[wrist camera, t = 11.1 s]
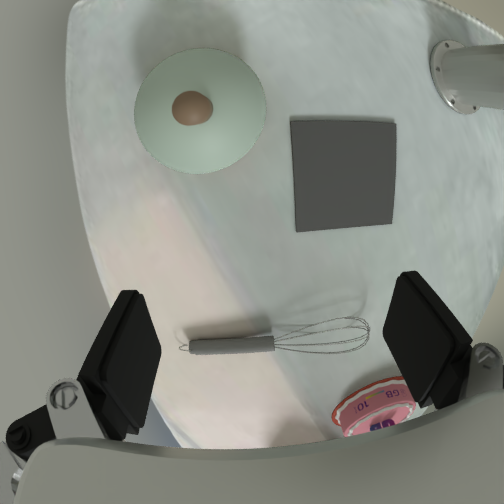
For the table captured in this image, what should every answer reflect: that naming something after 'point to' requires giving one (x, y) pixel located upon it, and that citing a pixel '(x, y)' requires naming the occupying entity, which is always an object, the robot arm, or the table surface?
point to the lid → (200, 110)
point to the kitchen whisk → (258, 343)
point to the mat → (343, 173)
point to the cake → (375, 407)
